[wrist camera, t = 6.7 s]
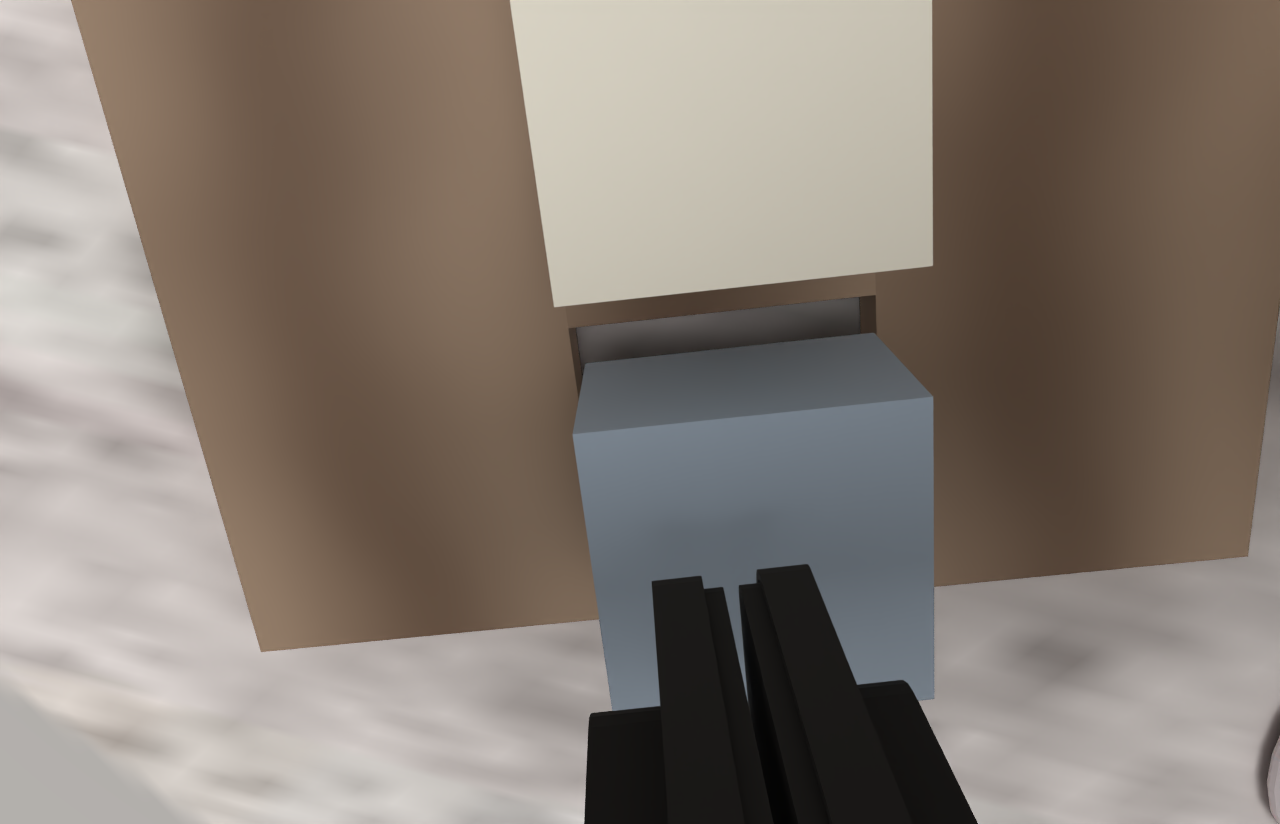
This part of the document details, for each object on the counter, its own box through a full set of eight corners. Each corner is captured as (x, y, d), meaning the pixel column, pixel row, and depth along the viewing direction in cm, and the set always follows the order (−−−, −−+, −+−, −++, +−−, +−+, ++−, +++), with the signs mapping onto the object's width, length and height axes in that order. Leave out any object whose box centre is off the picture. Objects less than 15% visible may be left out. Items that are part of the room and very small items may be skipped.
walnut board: (1347, -756, 12) (1423, -845, 11) (1208, 526, 18) (1247, 556, 17) (-42, -556, 12) (-110, -619, 11) (284, 616, 18) (260, 652, 17)
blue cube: (873, 332, 14) (933, 397, 11) (880, 586, 16) (934, 699, 13) (585, 363, 14) (572, 434, 11) (619, 611, 16) (614, 728, 13)
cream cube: (863, -115, 12) (931, -173, 9) (870, 226, 14) (932, 266, 11) (526, -73, 12) (493, -119, 9) (571, 259, 14) (554, 307, 11)
